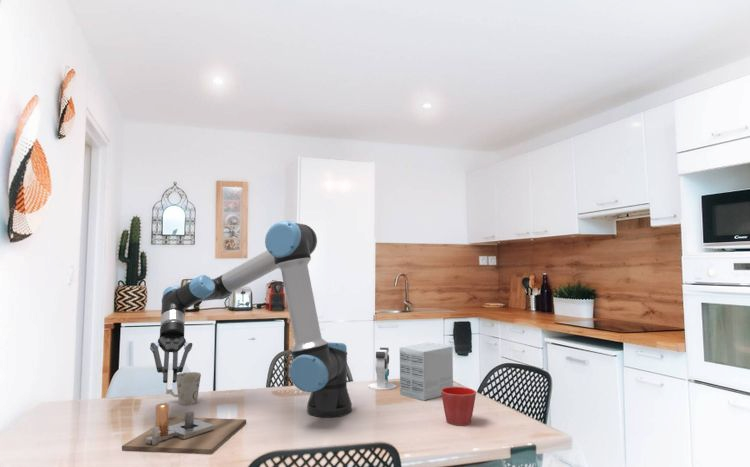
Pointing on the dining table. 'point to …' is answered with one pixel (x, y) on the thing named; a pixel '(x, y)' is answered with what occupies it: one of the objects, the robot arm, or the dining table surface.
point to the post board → (194, 444)
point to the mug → (187, 387)
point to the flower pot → (458, 404)
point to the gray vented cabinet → (425, 370)
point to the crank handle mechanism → (175, 426)
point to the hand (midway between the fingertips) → (169, 391)
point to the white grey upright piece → (382, 371)
